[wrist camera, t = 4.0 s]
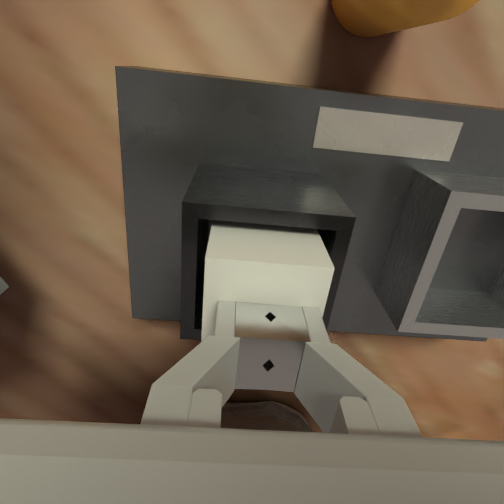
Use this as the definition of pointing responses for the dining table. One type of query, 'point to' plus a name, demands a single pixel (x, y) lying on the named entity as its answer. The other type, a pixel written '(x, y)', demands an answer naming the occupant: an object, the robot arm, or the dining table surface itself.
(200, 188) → the grey socket board
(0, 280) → the circuit breaker
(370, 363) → the dining table surface
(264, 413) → the pot
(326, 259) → the button
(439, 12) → the orange rounded cylinder
